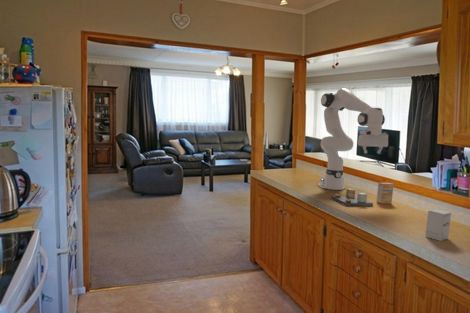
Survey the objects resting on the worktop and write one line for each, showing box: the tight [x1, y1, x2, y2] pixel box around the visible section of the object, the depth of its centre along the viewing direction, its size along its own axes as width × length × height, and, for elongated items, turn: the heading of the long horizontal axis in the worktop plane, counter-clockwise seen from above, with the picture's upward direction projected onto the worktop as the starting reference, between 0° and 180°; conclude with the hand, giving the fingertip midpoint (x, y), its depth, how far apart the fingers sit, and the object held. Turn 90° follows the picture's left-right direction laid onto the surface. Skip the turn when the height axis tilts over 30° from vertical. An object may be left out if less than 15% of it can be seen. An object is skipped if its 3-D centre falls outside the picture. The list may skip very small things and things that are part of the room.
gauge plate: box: [330, 192, 374, 207], centre depth 247 cm, size 20×18×4 cm
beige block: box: [345, 188, 356, 198], centre depth 254 cm, size 4×4×5 cm
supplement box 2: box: [424, 208, 452, 242], centre depth 180 cm, size 7×7×13 cm
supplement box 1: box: [376, 182, 395, 205], centre depth 249 cm, size 8×5×13 cm, turn 105°
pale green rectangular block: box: [356, 192, 368, 202], centre depth 240 cm, size 4×4×5 cm
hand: (372, 153), depth 254 cm, fingers open, 8 cm apart
